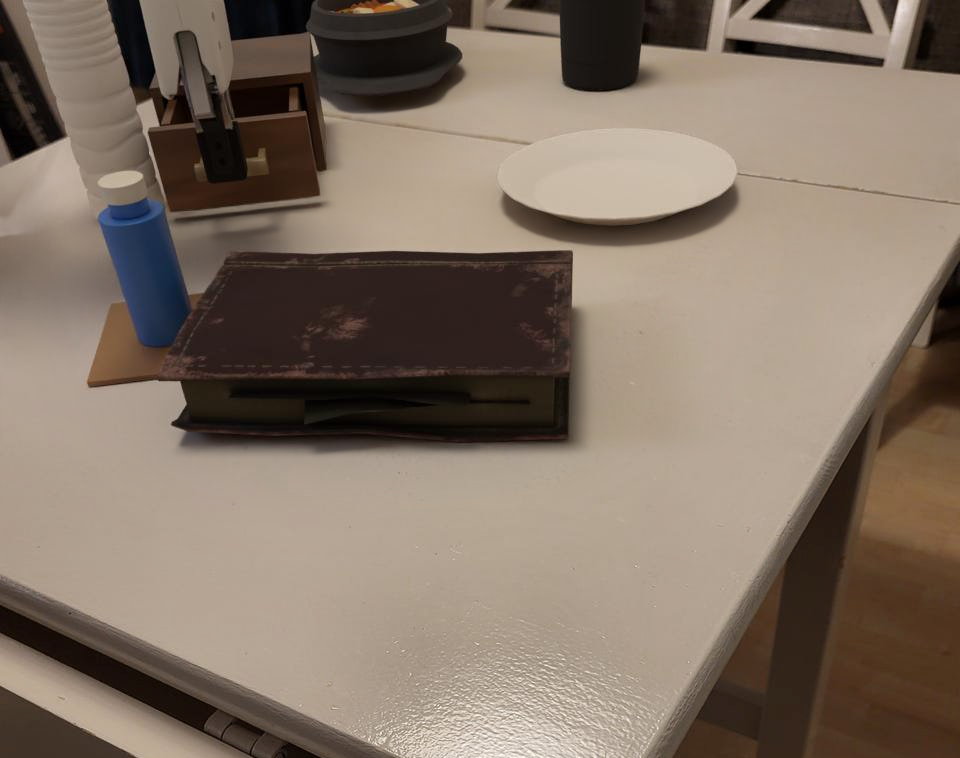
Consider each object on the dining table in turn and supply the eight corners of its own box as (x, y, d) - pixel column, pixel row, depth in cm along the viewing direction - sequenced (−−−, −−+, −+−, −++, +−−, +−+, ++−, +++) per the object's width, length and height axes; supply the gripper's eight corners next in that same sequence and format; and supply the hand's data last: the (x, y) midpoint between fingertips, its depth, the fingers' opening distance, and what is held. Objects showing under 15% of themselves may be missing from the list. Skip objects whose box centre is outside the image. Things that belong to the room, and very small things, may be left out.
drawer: (320, 214, 85) (306, 131, 80) (165, 231, 85) (141, 148, 80) (318, 148, 97) (306, 72, 93) (182, 163, 97) (162, 87, 92)
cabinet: (326, 169, 96) (310, 71, 89) (175, 186, 95) (149, 88, 89) (324, 123, 105) (310, 32, 99) (187, 138, 105) (164, 47, 99)
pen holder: (645, 90, 107) (651, -15, 100) (560, 95, 108) (560, -10, 101) (637, 65, 114) (642, -35, 107) (557, 69, 114) (557, -30, 108)
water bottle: (167, 194, 93) (77, -129, 76) (163, 220, 89) (65, -117, 71) (75, 205, 93) (-38, -118, 75) (65, 233, 88) (-57, -105, 71)
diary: (245, 305, 75) (231, 242, 71) (571, 306, 73) (573, 240, 69) (171, 446, 61) (149, 376, 58) (567, 451, 59) (570, 379, 56)
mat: (88, 387, 68) (86, 382, 68) (112, 308, 77) (111, 303, 76) (231, 370, 69) (230, 365, 68) (239, 293, 77) (238, 288, 77)
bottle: (134, 350, 71) (81, 195, 63) (141, 322, 74) (92, 170, 66) (195, 343, 71) (149, 187, 63) (199, 315, 74) (157, 163, 66)
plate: (771, 173, 88) (775, 147, 87) (667, 265, 76) (669, 237, 75) (573, 140, 97) (573, 116, 96) (452, 217, 85) (450, 191, 84)
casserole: (472, 104, 107) (467, 17, 101) (304, 119, 107) (289, 33, 101) (456, 43, 125) (450, -34, 119) (312, 56, 125) (300, -20, 119)
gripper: (122, -109, 71) (190, 151, 84) (90, -72, 61) (173, 220, 73) (224, -119, 72) (276, 142, 84) (210, -84, 61) (272, 208, 74)
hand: (228, 177), depth 79 cm, fingers closed
